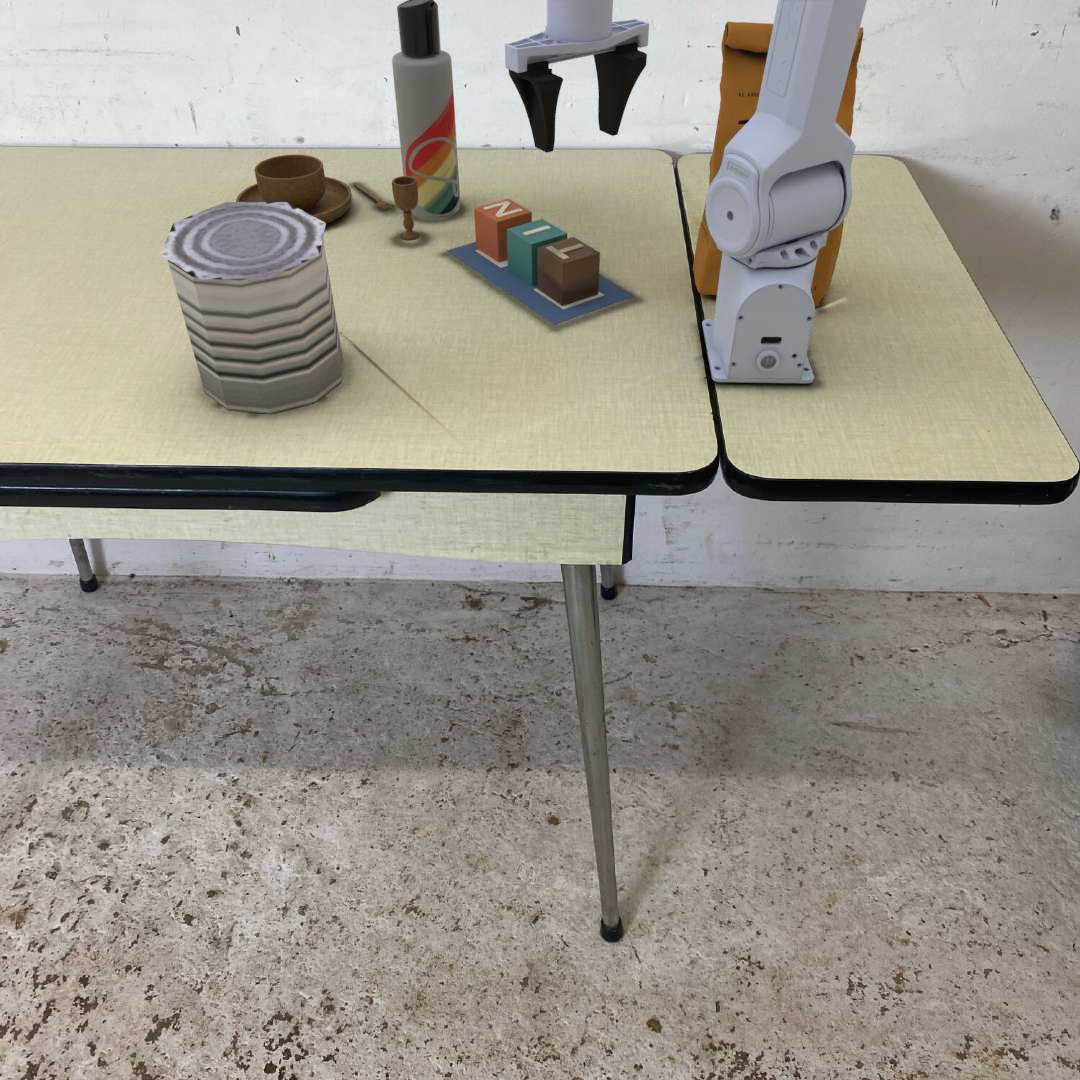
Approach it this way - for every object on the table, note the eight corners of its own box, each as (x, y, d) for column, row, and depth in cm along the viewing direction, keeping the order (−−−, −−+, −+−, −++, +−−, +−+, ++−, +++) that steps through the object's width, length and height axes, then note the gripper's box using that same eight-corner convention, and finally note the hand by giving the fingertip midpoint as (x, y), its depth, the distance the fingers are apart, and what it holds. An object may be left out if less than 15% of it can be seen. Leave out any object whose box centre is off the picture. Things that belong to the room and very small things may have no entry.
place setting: (351, 177, 108) (344, 123, 104) (434, 239, 95) (429, 181, 91) (200, 211, 101) (186, 154, 97) (267, 283, 88) (254, 222, 84)
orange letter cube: (532, 251, 92) (532, 210, 89) (498, 262, 90) (496, 220, 87) (509, 237, 94) (508, 197, 92) (475, 247, 93) (473, 206, 90)
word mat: (635, 299, 85) (635, 295, 85) (554, 328, 82) (554, 324, 81) (522, 231, 96) (522, 227, 96) (446, 254, 93) (446, 250, 92)
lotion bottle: (452, 223, 98) (437, 7, 85) (400, 219, 99) (377, 4, 86) (466, 202, 102) (454, -8, 89) (416, 198, 103) (396, -10, 90)
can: (347, 334, 81) (326, 195, 73) (346, 408, 72) (321, 260, 64) (210, 344, 80) (173, 204, 72) (193, 420, 71) (149, 271, 63)
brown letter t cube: (598, 294, 85) (600, 251, 83) (562, 306, 84) (562, 262, 81) (572, 277, 88) (573, 235, 85) (537, 289, 86) (536, 246, 83)
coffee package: (826, 322, 82) (886, 45, 68) (683, 305, 85) (712, 34, 70) (830, 272, 89) (885, 12, 75) (698, 257, 92) (727, 3, 77)
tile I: (567, 274, 88) (567, 232, 86) (531, 285, 87) (531, 243, 84) (542, 259, 91) (542, 217, 88) (507, 269, 89) (506, 227, 86)
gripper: (617, -42, 86) (610, 114, 95) (483, -22, 80) (489, 144, 89) (668, -29, 82) (656, 134, 91) (530, -6, 75) (532, 166, 84)
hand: (576, 140), depth 89 cm, fingers open, 7 cm apart
